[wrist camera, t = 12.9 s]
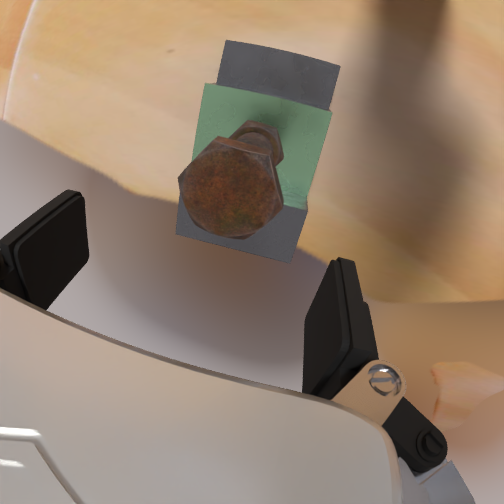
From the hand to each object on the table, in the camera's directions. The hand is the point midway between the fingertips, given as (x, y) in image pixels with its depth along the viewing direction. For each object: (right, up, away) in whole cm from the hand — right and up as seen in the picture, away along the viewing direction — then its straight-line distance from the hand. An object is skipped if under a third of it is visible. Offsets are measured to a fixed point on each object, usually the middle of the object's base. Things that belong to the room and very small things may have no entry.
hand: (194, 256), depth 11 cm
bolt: (+3, +11, +18) cm, 21 cm away
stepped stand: (+3, +14, +24) cm, 28 cm away
